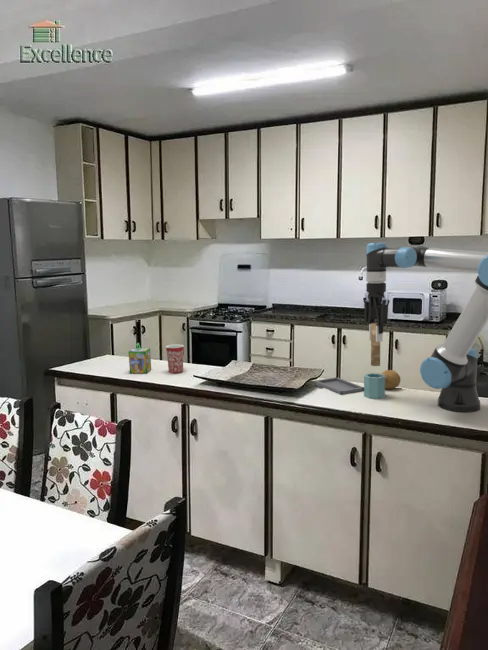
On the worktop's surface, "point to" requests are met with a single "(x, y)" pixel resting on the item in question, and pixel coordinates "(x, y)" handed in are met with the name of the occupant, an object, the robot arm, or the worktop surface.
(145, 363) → the chalk box
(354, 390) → the tray
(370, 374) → the cup
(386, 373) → the potato
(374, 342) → the dowel
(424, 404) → the worktop surface
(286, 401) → the worktop surface
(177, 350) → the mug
